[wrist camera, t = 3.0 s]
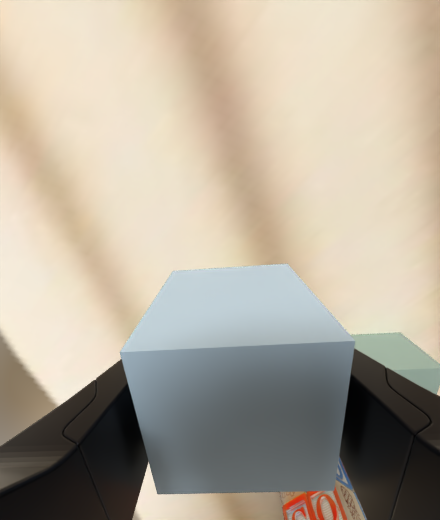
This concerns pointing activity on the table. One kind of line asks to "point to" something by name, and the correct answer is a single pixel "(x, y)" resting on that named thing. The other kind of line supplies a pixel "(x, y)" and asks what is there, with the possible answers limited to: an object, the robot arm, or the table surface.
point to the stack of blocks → (324, 502)
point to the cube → (239, 383)
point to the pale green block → (401, 357)
